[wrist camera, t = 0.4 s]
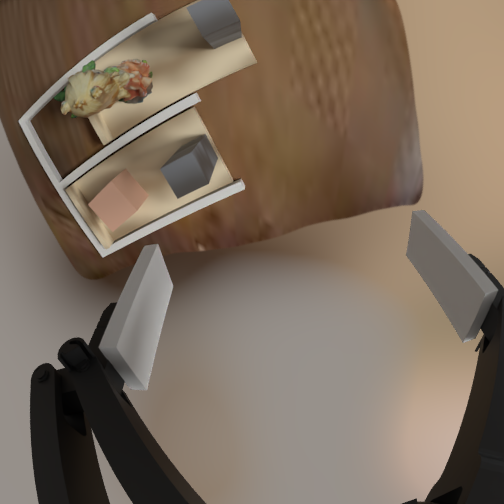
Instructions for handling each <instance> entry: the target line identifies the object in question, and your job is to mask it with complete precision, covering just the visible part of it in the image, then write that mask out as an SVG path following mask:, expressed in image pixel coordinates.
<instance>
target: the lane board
mask: <svg viewBox="0 0 504 504" xmlns="http://www.w3.org/2000/svg"><path fill="white" fill-rule="evenodd" d="M156 21H158V20H157V19H156V17H155V15H154V14H153V13H150V14H148V15H147V16H145V17H143V18H141V19H140V20H138V21H137V22H135V23H133V24H132V25H130V26H129V27H127V28H126V29H124V30H123V31H121V32H120V33H118V34H117V35H115V36H114V37H112V38H111V39H109V40H108V41H107V42H105V43H104V44H102V45H101V46H100V47H98V48H97V49H96V50H94V51H93V52H92V53H90V54H89V55H88V56H87V57H85V58H84V59H83V60H82V61H80V62H79V63H78V64H77V65H76V66H74V67H73V68H72V69H71V70H70V71H68V72H67V73H66V74H65V75H64V76H63V77H62V78H61V79H59V80H58V81H57V82H56V83H55V84H54V85H53V86H52V87H51V88H50V89H49V90H48V91H47V92H46V93H45V94H44V95H42V96H41V97H40V98H39V99H38V101H37V102H36V103H35V104H34V105H33V106H32V107H31V108H30V109H29V110H28V111H27V112H26V113H25V114H24V115H23V116H22V117H21V119H20V120H19V123H20V125H21V127H22V129H23V131H24V133H25V135H26V137H27V139H28V141H29V143H30V145H31V147H32V149H33V150H34V152H35V154H36V156H37V158H38V159H39V161H40V163H41V165H42V166H43V168H44V170H45V172H46V173H47V175H48V177H49V178H50V180H51V182H52V183H53V185H54V187H55V188H56V190H57V191H58V193H59V195H60V196H61V198H62V199H63V201H64V203H65V204H66V206H67V207H68V209H69V210H70V212H71V213H72V215H73V216H74V218H75V219H76V221H77V222H78V224H79V225H80V227H81V228H82V229H83V231H84V232H85V234H86V235H87V237H88V238H89V239H90V241H91V242H92V244H93V245H94V246H95V248H96V249H97V250H98V252H99V253H100V254H101V256H102V257H105V256H107V255H109V254H111V253H112V252H114V251H116V250H118V249H120V248H122V247H124V246H126V245H128V244H130V243H132V242H134V241H136V240H138V239H140V238H142V237H144V236H146V235H148V234H150V233H152V232H154V231H156V230H158V229H160V228H162V227H164V226H166V225H168V224H170V223H172V222H174V221H176V220H178V219H180V218H182V217H185V216H187V215H189V214H191V213H193V212H195V211H197V210H199V209H202V208H204V207H206V206H208V205H210V204H213V203H215V202H217V201H219V200H221V199H224V198H226V197H228V196H230V195H233V194H235V193H237V192H239V191H242V190H244V189H245V185H244V183H243V181H242V179H238V180H236V181H234V182H232V183H230V184H227V185H225V186H223V187H221V188H219V189H216V190H214V191H212V192H210V193H208V194H206V195H204V196H201V197H199V198H197V199H195V200H193V201H191V202H189V203H187V204H185V205H183V206H181V207H179V208H177V209H174V210H172V211H170V212H168V213H166V214H164V215H162V216H160V217H159V218H157V219H155V220H153V221H151V222H149V223H147V224H145V225H143V226H141V227H139V228H137V229H135V230H133V231H132V232H130V233H128V234H126V235H124V236H122V237H120V238H119V239H117V240H115V241H114V242H113V243H112V245H111V246H110V248H108V249H105V248H104V247H103V245H102V244H101V242H100V241H99V240H98V238H97V237H96V235H95V234H94V233H93V231H92V230H91V228H90V227H89V225H88V224H87V222H86V221H85V220H84V218H83V217H82V215H81V214H80V212H79V211H78V209H77V208H76V206H75V204H74V203H73V201H72V200H71V198H70V197H69V195H68V194H67V192H66V189H67V188H68V187H67V186H68V185H69V184H70V183H72V182H73V181H74V180H76V179H77V178H78V177H80V176H81V175H82V174H84V173H85V172H86V171H88V170H89V169H90V168H92V167H93V166H94V165H96V164H97V163H99V162H100V161H101V160H103V159H104V158H106V157H107V156H109V155H110V154H112V153H113V152H115V151H116V150H118V149H119V148H121V147H122V146H124V145H125V144H127V143H128V142H130V141H131V140H133V139H135V138H136V137H138V136H139V135H141V134H143V133H144V132H146V131H147V130H149V129H151V128H153V127H154V126H156V125H158V124H159V123H161V122H163V121H165V120H166V119H168V118H170V117H172V116H173V115H175V114H177V113H179V112H181V111H183V110H185V109H186V108H188V107H190V106H192V105H194V104H196V103H198V102H200V101H201V100H200V98H199V96H198V94H197V93H195V94H193V95H191V96H189V97H187V98H185V99H183V100H181V101H180V102H178V103H176V104H174V105H172V106H170V107H169V108H167V109H165V110H163V111H162V112H160V113H158V114H157V115H155V116H153V117H151V118H150V119H148V120H147V121H145V122H143V123H142V124H140V125H138V126H137V127H135V128H134V129H132V130H131V131H129V132H127V133H126V134H124V135H123V136H121V137H120V138H118V139H117V140H115V141H114V142H113V143H111V144H110V145H108V146H107V147H105V148H104V149H102V150H101V151H100V152H98V153H97V154H96V155H94V156H93V157H91V158H90V159H89V160H87V161H86V162H85V163H83V164H82V165H81V166H80V167H78V168H77V169H76V170H74V171H73V172H72V173H71V174H69V175H68V176H67V177H66V178H64V179H62V178H61V176H60V174H59V173H58V171H57V169H56V167H55V166H54V164H53V162H52V161H51V159H50V157H49V155H48V153H47V152H46V150H45V148H44V146H43V144H42V143H41V141H40V139H39V137H38V135H37V133H36V131H35V129H34V127H33V126H32V124H31V122H30V120H31V119H32V118H33V117H34V116H35V115H36V114H37V113H38V112H39V111H40V110H41V109H42V108H43V107H44V106H45V105H46V104H47V103H48V102H49V101H50V100H51V99H52V98H53V97H54V96H56V95H57V94H58V93H59V92H60V91H61V90H62V89H63V88H64V87H66V86H67V84H68V83H69V81H68V79H67V78H69V77H70V76H71V75H75V73H77V72H81V71H82V67H83V66H84V65H87V64H88V63H89V62H90V61H92V60H93V61H95V62H96V61H97V60H98V59H100V58H101V57H102V56H104V55H105V54H106V53H108V52H109V51H111V50H112V49H113V48H115V47H116V46H118V45H119V44H121V43H122V42H124V41H125V40H127V39H128V38H130V37H131V36H133V35H134V34H136V33H138V32H139V31H141V30H143V29H144V28H146V27H148V26H149V25H151V24H153V23H154V22H156Z"/></svg>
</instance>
